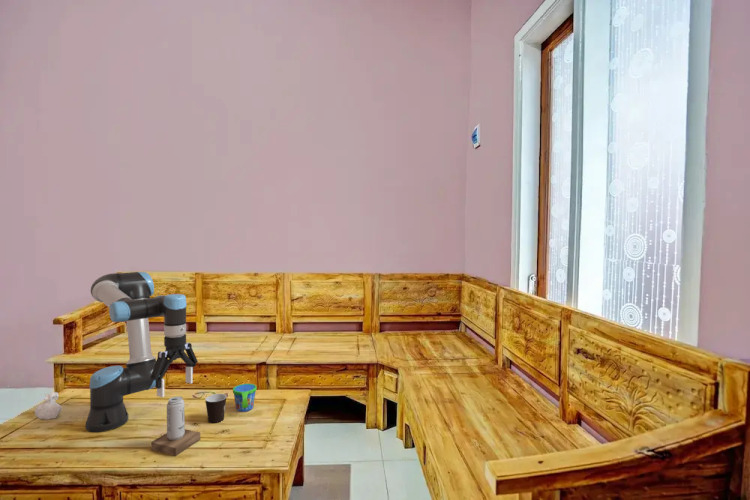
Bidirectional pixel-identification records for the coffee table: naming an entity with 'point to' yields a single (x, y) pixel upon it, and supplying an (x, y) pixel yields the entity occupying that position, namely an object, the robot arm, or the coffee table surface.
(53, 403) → the tied plastic bag
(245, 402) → the snack cup
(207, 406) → the coffee mug
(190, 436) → the walnut board
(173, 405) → the energy drink can
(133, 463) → the coffee table surface
